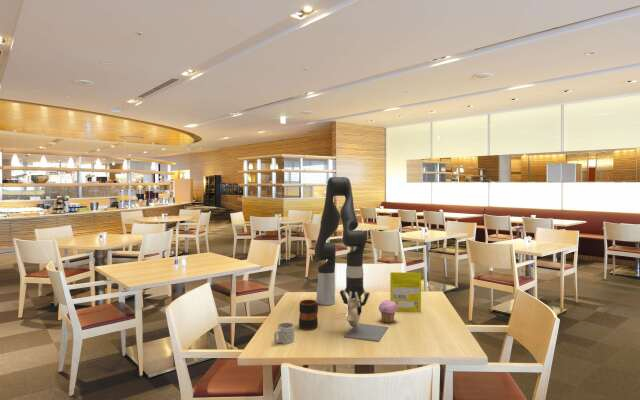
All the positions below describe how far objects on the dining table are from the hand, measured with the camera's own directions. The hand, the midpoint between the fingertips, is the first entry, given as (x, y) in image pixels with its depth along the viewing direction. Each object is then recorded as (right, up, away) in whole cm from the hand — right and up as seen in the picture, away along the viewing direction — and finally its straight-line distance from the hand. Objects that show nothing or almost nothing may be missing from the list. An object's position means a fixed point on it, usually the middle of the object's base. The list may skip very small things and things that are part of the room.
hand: (354, 313), depth 191 cm
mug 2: (-20, -8, +7) cm, 23 cm away
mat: (+5, -8, -2) cm, 9 cm away
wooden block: (-1, -4, -3) cm, 5 cm away
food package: (+28, -6, +28) cm, 40 cm away
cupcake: (+17, -7, +13) cm, 23 cm away
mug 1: (-31, -9, -12) cm, 34 cm away
